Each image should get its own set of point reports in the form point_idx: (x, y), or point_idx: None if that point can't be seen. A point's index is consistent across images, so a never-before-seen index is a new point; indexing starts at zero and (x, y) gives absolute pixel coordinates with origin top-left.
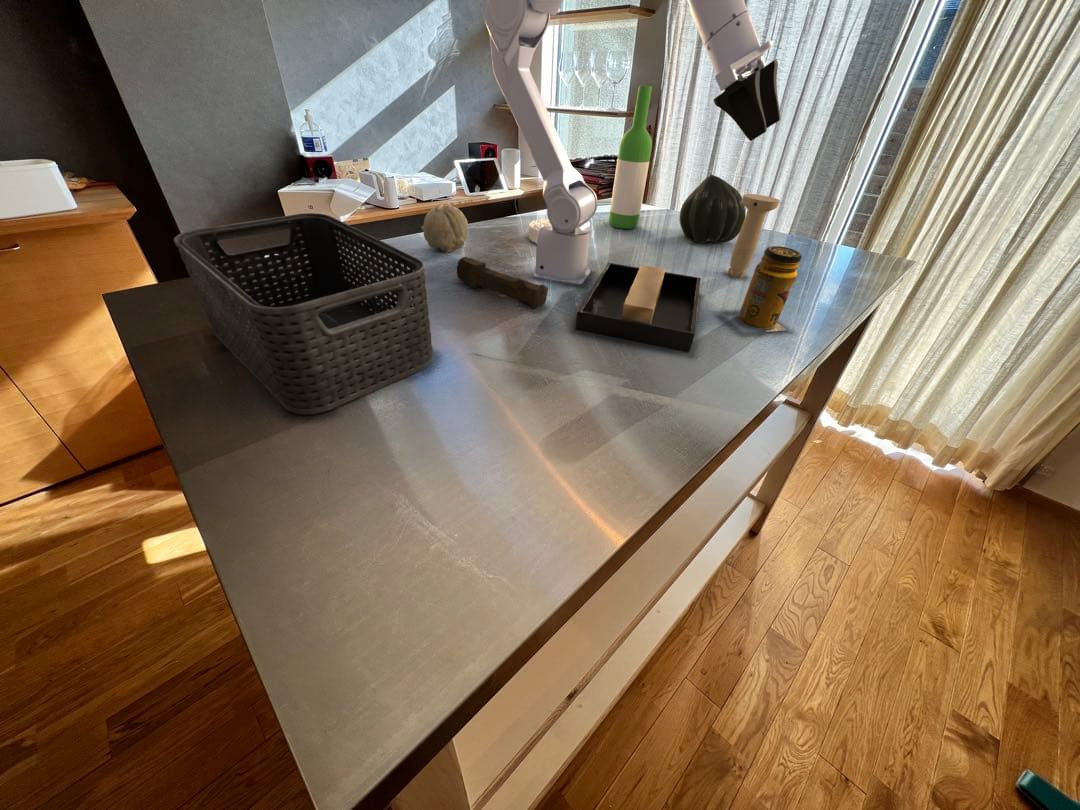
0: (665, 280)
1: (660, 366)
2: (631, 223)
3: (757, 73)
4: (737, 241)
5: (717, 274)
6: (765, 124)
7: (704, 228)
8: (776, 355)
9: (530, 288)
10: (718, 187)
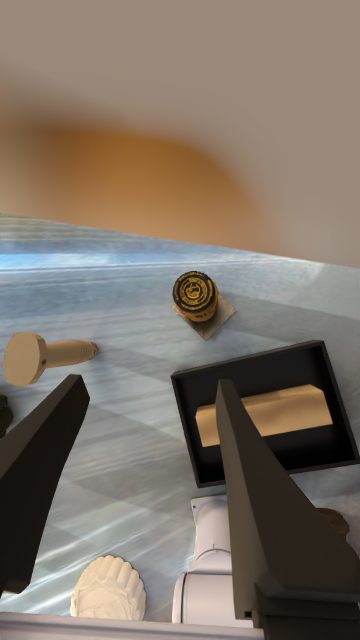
0: (184, 410)
1: (353, 354)
2: None
3: (327, 571)
4: (72, 363)
5: (98, 367)
6: (228, 389)
7: (1, 418)
8: (257, 274)
9: (344, 539)
10: None
